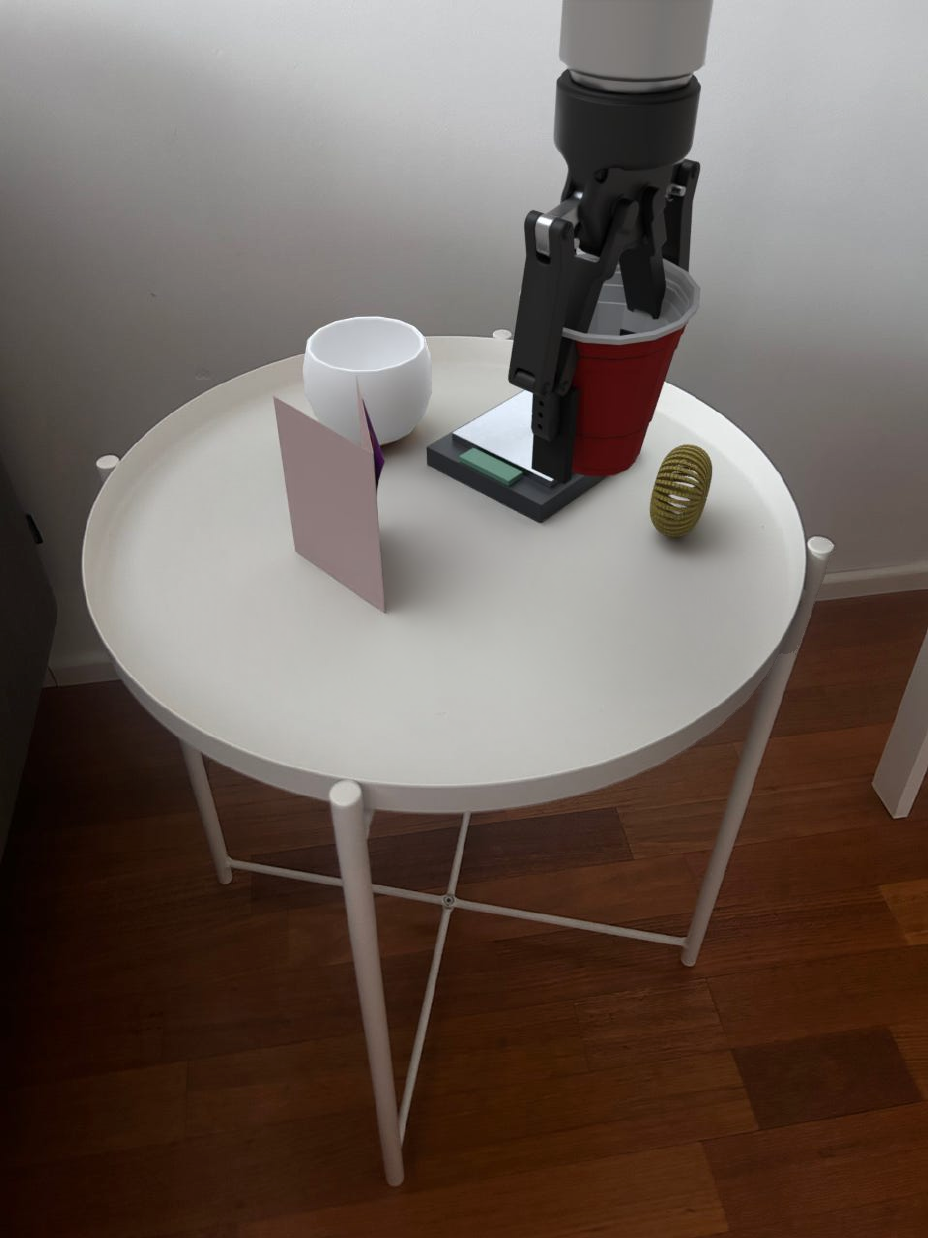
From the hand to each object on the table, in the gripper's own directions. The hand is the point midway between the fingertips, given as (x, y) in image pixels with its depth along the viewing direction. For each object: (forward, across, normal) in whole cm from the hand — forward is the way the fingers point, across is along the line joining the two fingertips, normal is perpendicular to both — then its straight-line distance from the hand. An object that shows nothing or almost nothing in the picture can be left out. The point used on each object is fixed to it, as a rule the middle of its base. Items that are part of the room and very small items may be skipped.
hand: (591, 446), depth 68 cm
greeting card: (+17, +7, -19) cm, 27 cm away
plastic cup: (+1, 0, 0) cm, 1 cm away
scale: (+17, -17, -18) cm, 30 cm away
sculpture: (+17, -17, -2) cm, 24 cm away
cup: (+17, -10, -33) cm, 38 cm away
